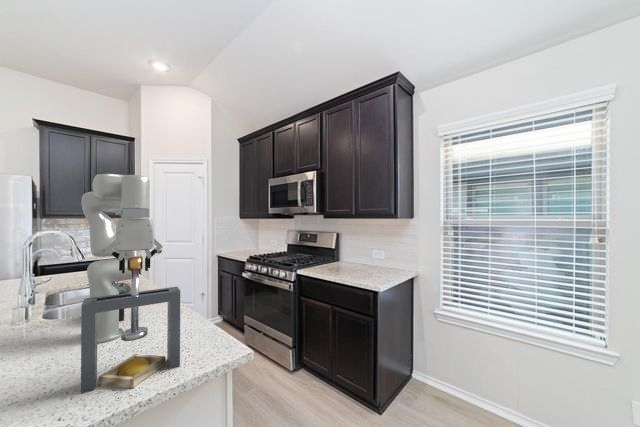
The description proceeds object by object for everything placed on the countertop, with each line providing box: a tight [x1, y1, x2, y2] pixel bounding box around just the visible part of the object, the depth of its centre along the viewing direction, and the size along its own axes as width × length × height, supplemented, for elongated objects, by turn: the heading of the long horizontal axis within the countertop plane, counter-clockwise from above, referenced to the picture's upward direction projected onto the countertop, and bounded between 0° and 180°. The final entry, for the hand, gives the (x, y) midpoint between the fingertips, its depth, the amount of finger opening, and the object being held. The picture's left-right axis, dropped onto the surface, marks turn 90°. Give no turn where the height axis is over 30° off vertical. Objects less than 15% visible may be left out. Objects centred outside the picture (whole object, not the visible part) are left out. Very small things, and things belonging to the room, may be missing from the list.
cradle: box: [98, 353, 166, 389], centre depth 87 cm, size 11×13×2 cm
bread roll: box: [118, 358, 150, 377], centre depth 87 cm, size 8×9×4 cm
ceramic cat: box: [111, 281, 127, 322], centre depth 135 cm, size 20×6×20 cm, turn 48°
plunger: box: [120, 255, 149, 342], centre depth 87 cm, size 7×7×25 cm
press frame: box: [80, 286, 181, 395], centre depth 87 cm, size 7×25×25 cm, turn 125°
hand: (135, 270), depth 87 cm, fingers open, 5 cm apart
